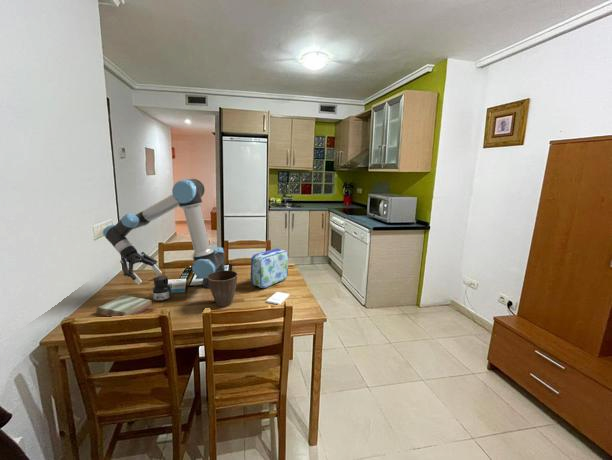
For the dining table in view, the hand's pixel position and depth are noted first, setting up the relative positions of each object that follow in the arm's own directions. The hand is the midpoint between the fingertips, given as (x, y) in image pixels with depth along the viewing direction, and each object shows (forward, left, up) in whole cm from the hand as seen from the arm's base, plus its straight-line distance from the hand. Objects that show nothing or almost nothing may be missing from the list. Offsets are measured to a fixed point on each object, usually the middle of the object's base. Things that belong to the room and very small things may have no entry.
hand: (151, 278), depth 155 cm
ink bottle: (-6, 0, -11) cm, 13 cm away
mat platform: (+2, +16, -11) cm, 19 cm away
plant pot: (-41, -5, -11) cm, 43 cm away
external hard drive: (-66, -20, -11) cm, 70 cm away
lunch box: (-53, -40, -11) cm, 67 cm away
